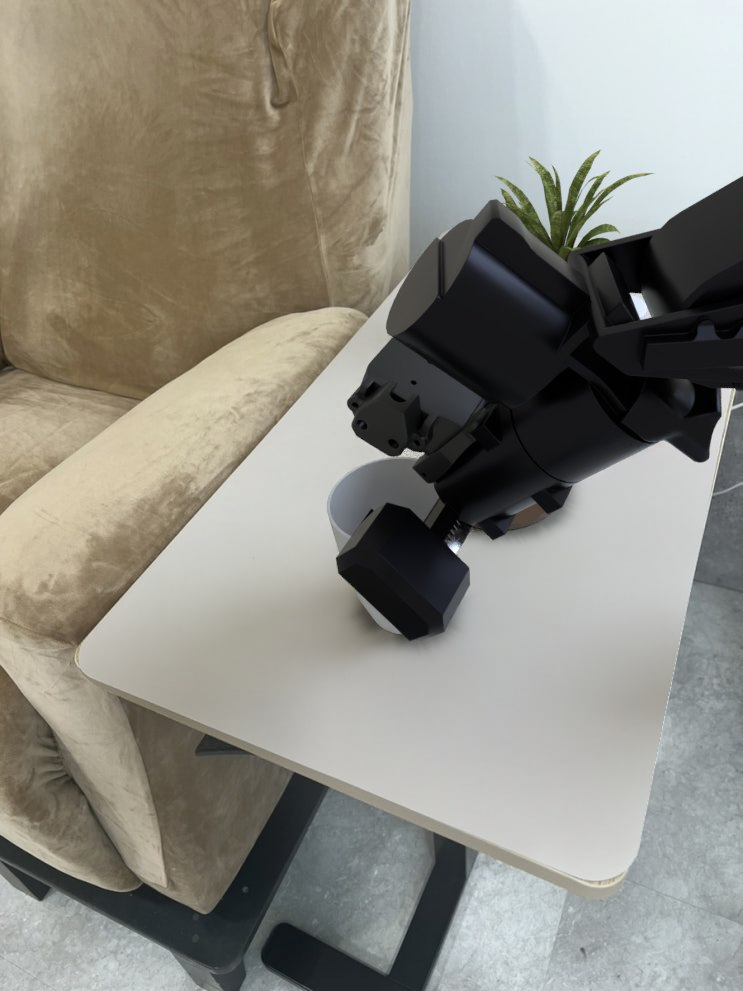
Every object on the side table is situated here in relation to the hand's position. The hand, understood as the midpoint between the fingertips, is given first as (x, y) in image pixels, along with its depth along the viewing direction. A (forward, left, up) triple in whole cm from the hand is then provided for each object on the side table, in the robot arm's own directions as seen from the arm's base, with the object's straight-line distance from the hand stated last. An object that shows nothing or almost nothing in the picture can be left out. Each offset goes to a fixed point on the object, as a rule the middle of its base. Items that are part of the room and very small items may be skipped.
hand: (378, 531), depth 49 cm
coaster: (-6, -13, -7) cm, 16 cm away
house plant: (-10, -40, -7) cm, 42 cm away
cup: (-1, 0, -7) cm, 7 cm away
